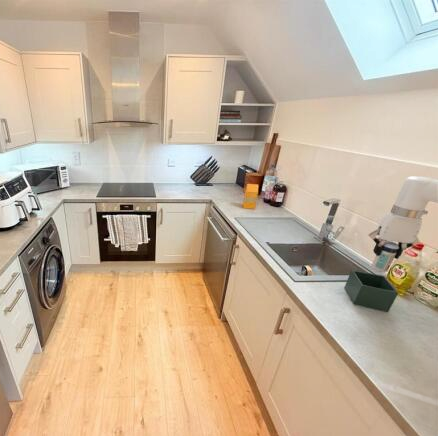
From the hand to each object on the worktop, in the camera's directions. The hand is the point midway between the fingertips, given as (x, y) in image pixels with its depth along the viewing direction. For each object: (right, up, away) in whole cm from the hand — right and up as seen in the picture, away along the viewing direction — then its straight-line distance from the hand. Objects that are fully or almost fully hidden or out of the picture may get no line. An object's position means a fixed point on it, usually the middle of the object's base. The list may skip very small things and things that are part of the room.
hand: (385, 255), depth 90 cm
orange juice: (-6, +30, +105) cm, 110 cm away
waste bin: (0, -20, +9) cm, 22 cm away
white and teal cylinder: (0, -6, +3) cm, 7 cm away
